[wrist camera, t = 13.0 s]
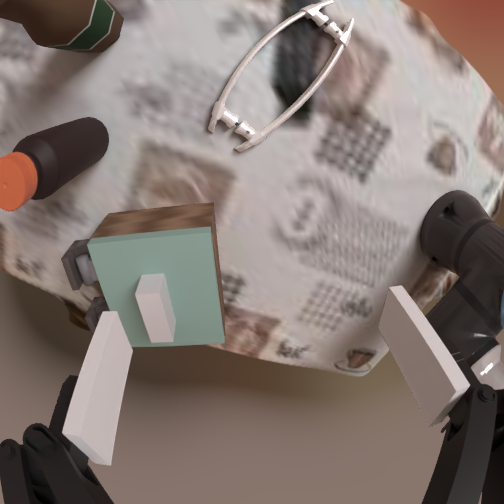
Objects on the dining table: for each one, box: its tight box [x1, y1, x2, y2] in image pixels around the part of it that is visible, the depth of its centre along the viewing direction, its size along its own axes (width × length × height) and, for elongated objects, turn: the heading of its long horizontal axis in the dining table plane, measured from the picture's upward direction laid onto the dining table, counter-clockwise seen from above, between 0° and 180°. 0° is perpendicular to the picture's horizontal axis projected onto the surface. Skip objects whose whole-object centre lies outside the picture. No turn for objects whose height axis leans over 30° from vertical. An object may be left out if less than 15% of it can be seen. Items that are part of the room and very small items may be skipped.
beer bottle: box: [0, 0, 124, 52], centre depth 18 cm, size 8×8×24 cm
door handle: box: [208, 0, 355, 152], centre depth 34 cm, size 3×10×25 cm
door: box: [75, 227, 225, 347], centre depth 38 cm, size 18×18×6 cm
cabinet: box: [61, 203, 225, 336], centre depth 43 cm, size 20×18×10 cm
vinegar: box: [0, 117, 109, 211], centre depth 28 cm, size 7×7×20 cm
